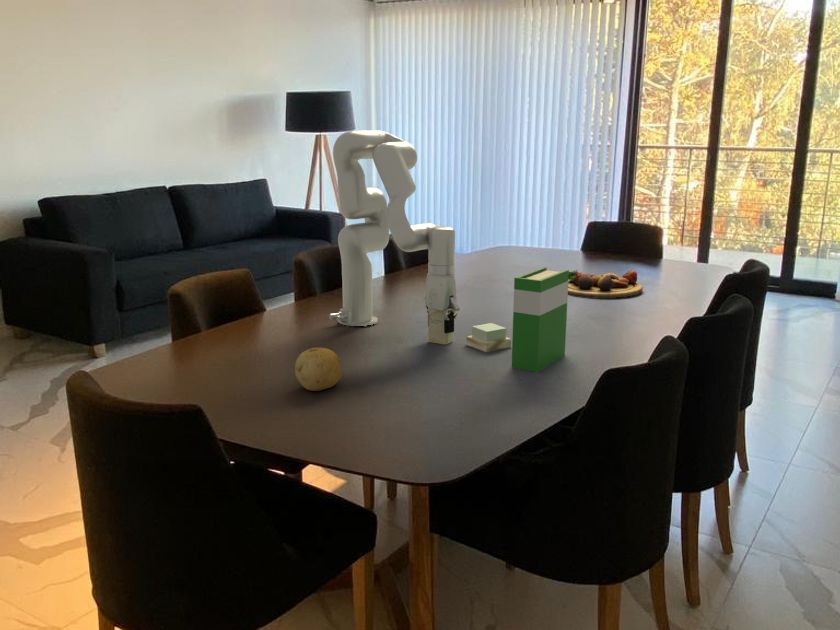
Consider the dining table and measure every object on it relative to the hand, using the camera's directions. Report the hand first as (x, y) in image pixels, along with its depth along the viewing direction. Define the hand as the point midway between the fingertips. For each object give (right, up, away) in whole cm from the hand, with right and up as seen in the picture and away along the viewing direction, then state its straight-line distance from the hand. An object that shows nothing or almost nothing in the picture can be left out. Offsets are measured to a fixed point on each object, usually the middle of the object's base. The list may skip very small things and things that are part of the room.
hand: (440, 329), depth 227 cm
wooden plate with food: (+63, +13, +71) cm, 96 cm away
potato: (-31, -14, -38) cm, 51 cm away
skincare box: (0, -4, +1) cm, 4 cm away
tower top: (+14, -2, -3) cm, 14 cm away
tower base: (+14, -5, -3) cm, 15 cm away
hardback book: (+26, -8, -17) cm, 32 cm away
